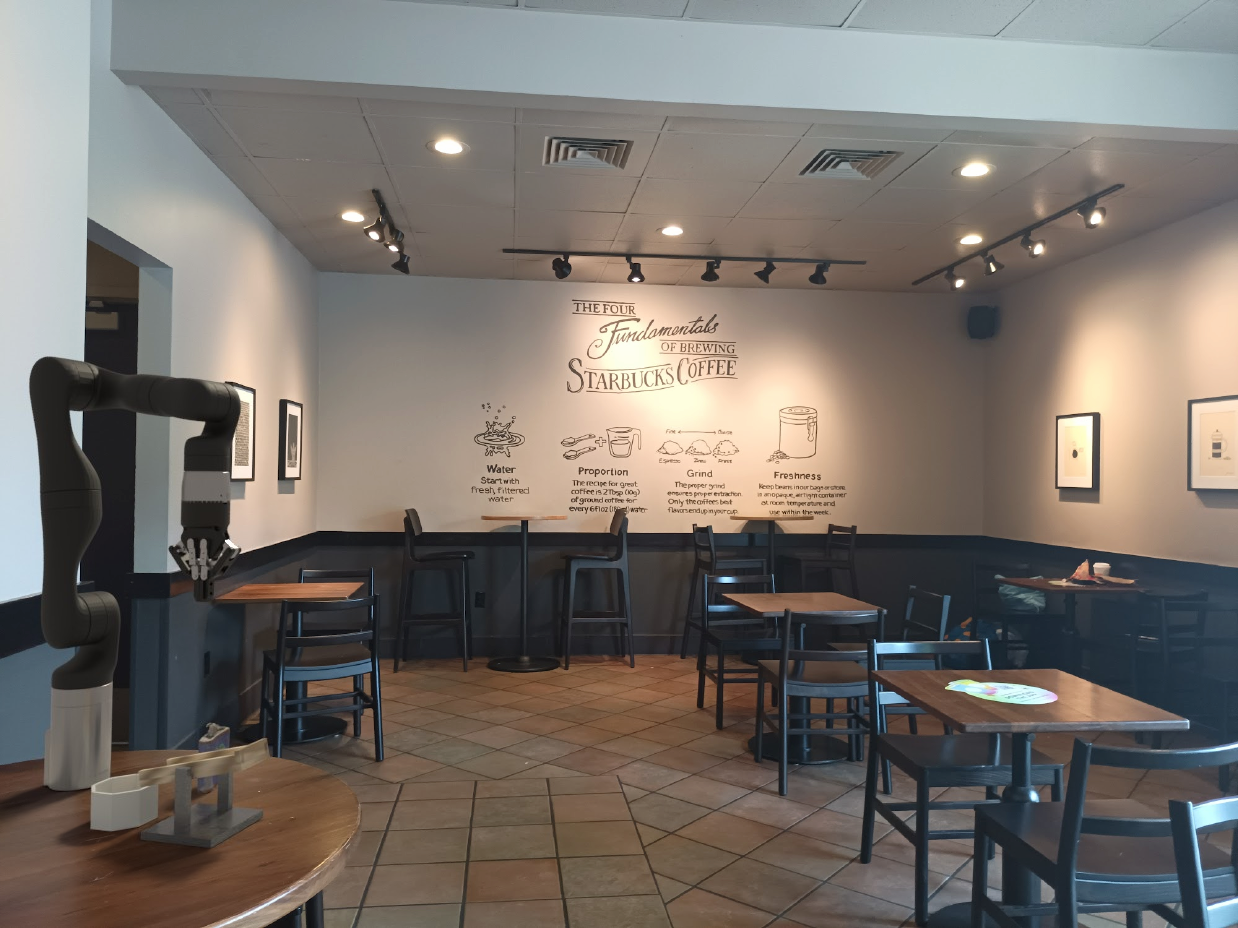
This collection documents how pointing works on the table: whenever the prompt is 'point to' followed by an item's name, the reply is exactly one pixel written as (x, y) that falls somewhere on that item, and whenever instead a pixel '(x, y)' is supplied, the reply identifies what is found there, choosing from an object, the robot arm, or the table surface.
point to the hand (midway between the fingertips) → (203, 601)
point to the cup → (122, 803)
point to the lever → (208, 763)
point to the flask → (208, 743)
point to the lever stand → (201, 815)
